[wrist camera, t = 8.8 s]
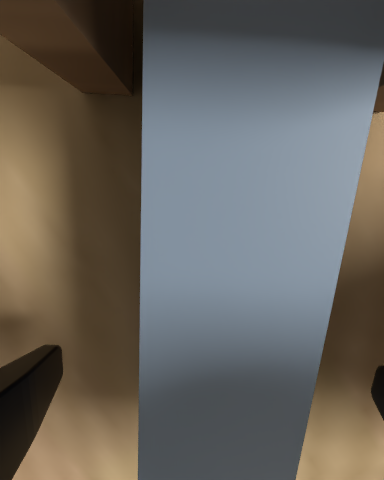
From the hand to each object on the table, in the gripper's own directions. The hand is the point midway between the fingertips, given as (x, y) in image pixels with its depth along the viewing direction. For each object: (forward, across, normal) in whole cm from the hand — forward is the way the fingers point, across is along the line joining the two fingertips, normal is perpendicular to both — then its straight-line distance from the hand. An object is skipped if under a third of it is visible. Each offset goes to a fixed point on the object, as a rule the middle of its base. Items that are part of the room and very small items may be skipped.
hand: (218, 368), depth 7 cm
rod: (+3, 0, -4) cm, 5 cm away
